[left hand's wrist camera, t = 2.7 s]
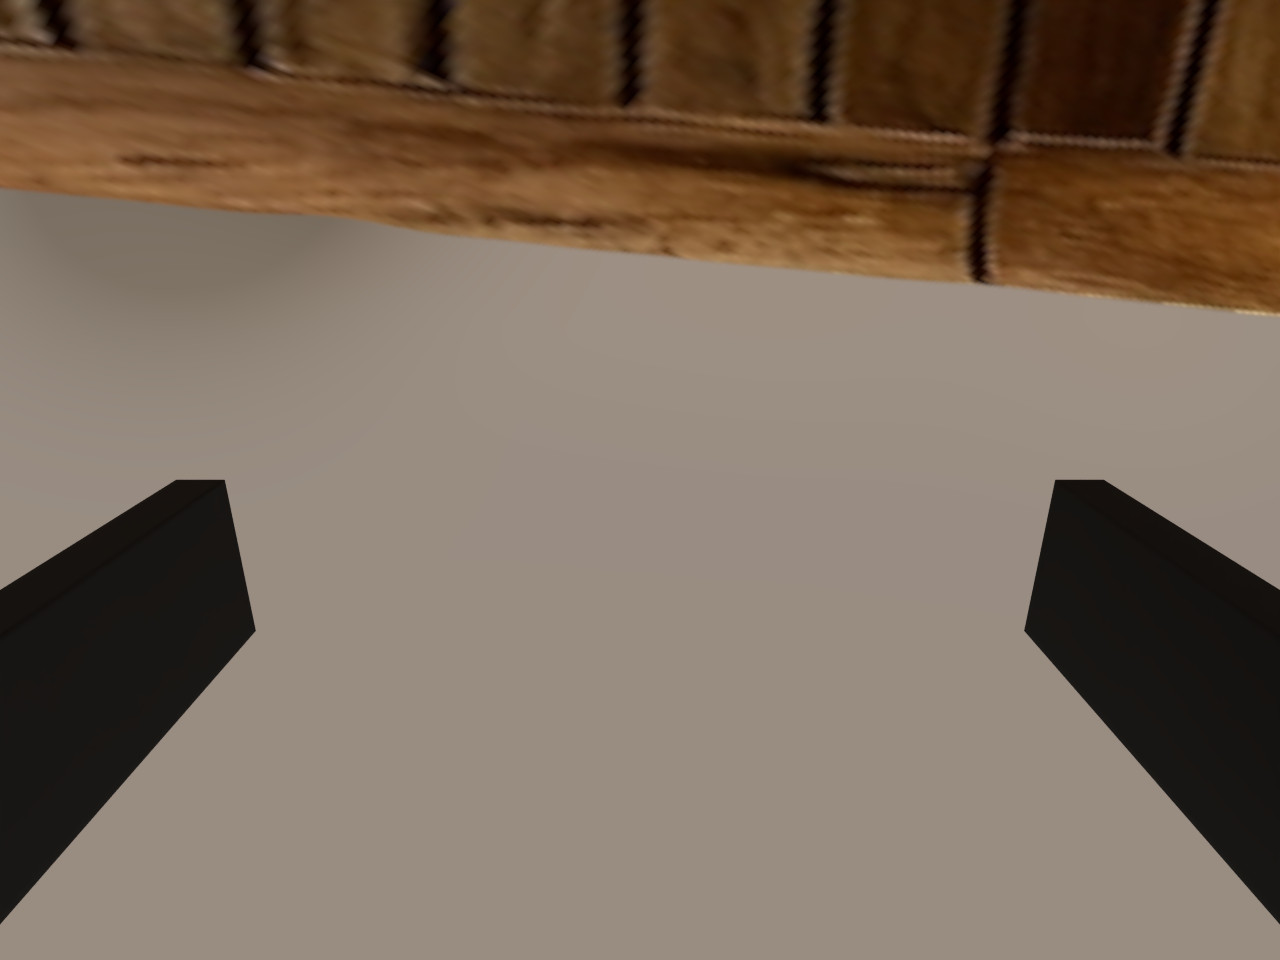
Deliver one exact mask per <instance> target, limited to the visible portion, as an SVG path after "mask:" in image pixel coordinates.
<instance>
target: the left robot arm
mask: <svg viewBox="0 0 1280 960" xmlns="http://www.w3.org/2000/svg"><path fill="white" fill-rule="evenodd" d="M255 631H256V630H255V625H254V620H253V615H252V610H251V606H250V601H249V596H248V591H247V586H246V581H245V576H244V571H243V567H242V562H241V557H240V552H239V547H238V542H237V537H236V532H235V528H234V523H233V518H232V513H231V508H230V503H229V498H228V494H227V489H226V484H225V480H175V481H174V482H172V483H170V484H169V485H167V486H166V487H164V488H162V489H161V490H159V491H158V492H156V493H154V494H153V495H151V496H150V497H148V498H146V499H145V500H143V501H142V502H140V503H138V504H137V505H135V506H134V507H132V508H131V509H129V510H127V511H126V512H124V513H122V514H121V515H119V516H118V517H116V518H114V519H113V520H111V521H110V522H108V523H106V524H105V525H103V526H102V527H100V528H99V529H97V530H95V531H94V532H92V533H91V534H89V535H87V536H86V537H84V538H83V539H81V540H79V541H78V542H76V543H75V544H73V545H71V546H70V547H68V548H67V549H65V550H63V551H62V552H60V553H59V554H57V555H55V556H54V557H52V558H51V559H49V560H47V561H46V562H44V563H43V564H41V565H39V566H38V567H36V568H35V569H33V570H31V571H30V572H28V573H27V574H25V575H23V576H22V577H20V578H19V579H17V580H15V581H14V582H12V583H11V584H9V585H7V586H6V587H4V588H3V589H1V590H0V924H1V923H2V922H3V920H4V919H5V918H6V917H7V916H8V915H9V913H10V912H11V911H12V910H13V909H14V908H15V906H16V905H17V904H18V903H19V902H20V901H21V900H22V899H23V897H24V896H25V895H26V894H27V893H28V892H29V891H30V889H31V888H32V887H33V886H34V885H35V884H36V882H37V881H38V880H39V879H40V878H41V877H42V876H43V874H44V873H45V872H46V871H47V870H48V869H49V868H50V866H51V865H52V864H53V863H54V862H55V861H56V860H57V858H58V857H59V856H60V855H61V854H62V853H63V852H64V850H65V849H66V848H67V847H68V846H69V845H70V843H71V842H72V841H73V840H74V839H75V838H76V837H77V835H78V834H79V833H80V832H81V831H82V830H83V828H84V827H85V826H86V825H87V824H88V823H89V822H90V821H91V819H92V818H93V817H94V816H95V815H96V814H97V812H98V811H99V810H100V809H101V808H102V807H103V806H104V804H105V803H106V802H107V801H108V800H109V799H110V797H111V796H112V795H113V794H114V793H115V792H116V791H117V789H118V788H119V787H120V786H121V785H122V784H123V783H124V781H125V780H126V779H127V778H128V777H129V776H130V775H131V773H132V772H133V771H134V770H135V769H136V768H137V767H138V765H139V764H140V763H141V762H142V761H143V760H144V759H145V757H146V756H147V755H148V754H149V753H150V752H151V750H152V749H153V748H154V747H155V746H156V745H157V744H158V742H159V741H160V740H161V739H162V738H163V737H164V736H165V734H166V733H167V732H168V731H169V730H170V729H171V727H172V726H173V725H174V724H175V723H176V722H177V721H178V719H179V718H180V717H181V716H182V715H183V714H184V713H185V711H186V710H187V709H188V708H189V707H190V706H191V705H192V703H193V702H194V701H195V700H196V699H197V698H198V696H199V695H200V694H201V693H202V692H203V691H204V690H205V688H206V687H207V686H208V685H209V684H210V683H211V682H212V680H213V679H214V678H215V677H216V676H217V675H218V674H219V672H220V671H221V670H222V669H223V668H224V667H225V665H226V664H227V663H228V662H229V661H230V660H231V659H232V657H233V656H234V655H235V654H236V653H237V652H238V651H239V649H240V648H241V647H242V646H243V645H244V644H245V643H246V641H247V640H248V639H249V638H250V637H251V636H252V634H253V633H254V632H255ZM1024 631H1025V632H1026V633H1027V634H1028V636H1029V637H1030V638H1031V639H1032V640H1033V641H1034V643H1035V644H1036V645H1037V646H1038V647H1039V648H1040V649H1041V651H1042V652H1043V653H1044V654H1045V655H1046V656H1047V657H1048V659H1049V660H1050V661H1051V662H1052V663H1053V664H1054V665H1055V667H1056V668H1057V669H1058V670H1059V671H1060V672H1061V674H1062V675H1063V676H1064V677H1065V678H1066V679H1067V680H1068V682H1069V683H1070V684H1071V685H1072V686H1073V687H1074V688H1075V690H1076V691H1077V692H1078V693H1079V694H1080V695H1081V697H1082V698H1083V699H1084V700H1085V701H1086V702H1087V703H1088V705H1089V706H1090V707H1091V708H1092V709H1093V710H1094V711H1095V713H1096V714H1097V715H1098V716H1099V717H1100V718H1101V719H1102V721H1103V722H1104V723H1105V724H1106V725H1107V726H1108V728H1109V729H1110V730H1111V731H1112V732H1113V733H1114V734H1115V736H1116V737H1117V738H1118V739H1119V740H1120V741H1121V742H1122V744H1123V745H1124V746H1125V747H1126V748H1127V749H1128V750H1129V752H1130V753H1131V754H1132V755H1133V756H1134V757H1135V759H1136V760H1137V761H1138V762H1139V763H1140V764H1141V765H1142V767H1143V768H1144V769H1145V770H1146V771H1147V772H1148V773H1149V775H1150V776H1151V777H1152V778H1153V779H1154V780H1155V781H1156V783H1157V784H1158V785H1159V786H1160V787H1161V788H1162V790H1163V791H1164V792H1165V793H1166V794H1167V795H1168V796H1169V797H1170V799H1171V800H1172V801H1173V802H1174V803H1175V804H1176V806H1177V807H1178V808H1179V809H1180V810H1181V811H1182V812H1183V814H1184V815H1185V816H1186V817H1187V818H1188V819H1189V820H1190V822H1191V823H1192V824H1193V825H1194V826H1195V827H1196V829H1197V830H1198V831H1199V832H1200V833H1201V834H1202V835H1203V837H1204V838H1205V839H1206V840H1207V841H1208V842H1209V843H1210V845H1211V846H1212V847H1213V848H1214V849H1215V850H1216V852H1217V853H1218V854H1219V855H1220V856H1221V857H1222V858H1223V860H1224V861H1225V862H1226V863H1227V864H1228V865H1229V866H1230V868H1231V869H1232V870H1233V871H1234V872H1235V873H1236V874H1237V876H1238V877H1239V878H1240V879H1241V880H1242V881H1243V882H1244V884H1245V885H1246V886H1247V887H1248V888H1249V889H1250V890H1251V892H1252V893H1253V894H1254V895H1255V896H1256V897H1257V899H1258V900H1259V901H1260V902H1261V903H1262V904H1263V905H1264V907H1265V908H1266V909H1267V910H1268V911H1269V912H1270V913H1271V915H1272V916H1273V917H1274V918H1275V919H1276V920H1277V922H1278V923H1279V924H1280V590H1279V589H1277V588H1276V587H1274V586H1273V585H1271V584H1269V583H1268V582H1266V581H1265V580H1263V579H1261V578H1260V577H1258V576H1257V575H1255V574H1253V573H1252V572H1250V571H1249V570H1247V569H1245V568H1244V567H1242V566H1241V565H1239V564H1237V563H1236V562H1234V561H1233V560H1231V559H1229V558H1228V557H1226V556H1225V555H1223V554H1221V553H1220V552H1218V551H1217V550H1215V549H1213V548H1212V547H1210V546H1209V545H1207V544H1206V543H1204V542H1202V541H1201V540H1199V539H1197V538H1196V537H1194V536H1193V535H1191V534H1190V533H1188V532H1186V531H1185V530H1183V529H1182V528H1180V527H1178V526H1177V525H1175V524H1174V523H1172V522H1170V521H1169V520H1167V519H1166V518H1164V517H1162V516H1161V515H1159V514H1158V513H1156V512H1154V511H1153V510H1151V509H1150V508H1148V507H1146V506H1145V505H1143V504H1141V503H1140V502H1138V501H1137V500H1135V499H1134V498H1132V497H1130V496H1129V495H1127V494H1126V493H1124V492H1122V491H1121V490H1119V489H1118V488H1116V487H1114V486H1113V485H1111V484H1110V483H1108V482H1106V481H1105V480H1055V484H1054V489H1053V494H1052V498H1051V504H1050V508H1049V513H1048V518H1047V523H1046V528H1045V533H1044V537H1043V542H1042V547H1041V552H1040V557H1039V562H1038V566H1037V572H1036V576H1035V581H1034V586H1033V591H1032V596H1031V601H1030V605H1029V610H1028V615H1027V620H1026V625H1025V630H1024Z"/></svg>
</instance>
